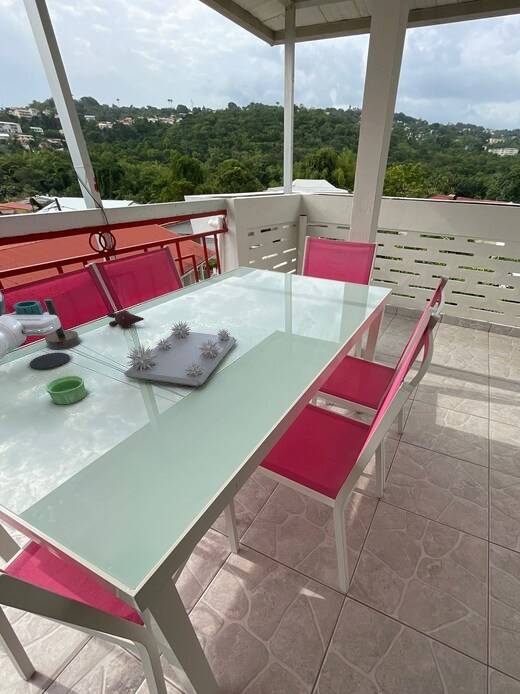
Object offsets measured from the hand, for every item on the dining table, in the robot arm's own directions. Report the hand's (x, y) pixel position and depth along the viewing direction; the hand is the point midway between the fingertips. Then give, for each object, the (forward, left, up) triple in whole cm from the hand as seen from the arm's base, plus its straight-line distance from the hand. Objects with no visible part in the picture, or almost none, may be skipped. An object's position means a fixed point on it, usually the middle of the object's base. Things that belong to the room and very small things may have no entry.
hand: (32, 314), depth 100 cm
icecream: (+15, +29, -16) cm, 36 cm away
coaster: (0, -1, -16) cm, 16 cm away
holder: (-2, +13, -16) cm, 21 cm away
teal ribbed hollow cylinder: (0, -1, -5) cm, 5 cm away
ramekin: (+15, -22, -16) cm, 31 cm away
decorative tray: (+43, 0, -16) cm, 46 cm away
